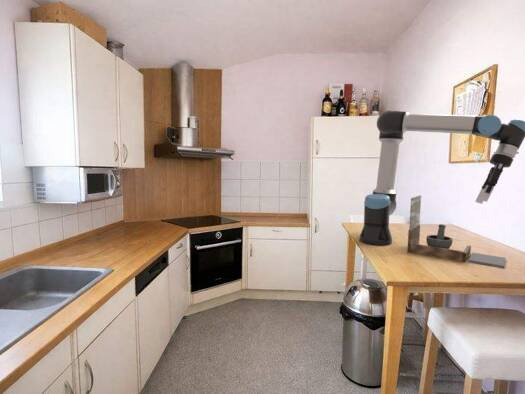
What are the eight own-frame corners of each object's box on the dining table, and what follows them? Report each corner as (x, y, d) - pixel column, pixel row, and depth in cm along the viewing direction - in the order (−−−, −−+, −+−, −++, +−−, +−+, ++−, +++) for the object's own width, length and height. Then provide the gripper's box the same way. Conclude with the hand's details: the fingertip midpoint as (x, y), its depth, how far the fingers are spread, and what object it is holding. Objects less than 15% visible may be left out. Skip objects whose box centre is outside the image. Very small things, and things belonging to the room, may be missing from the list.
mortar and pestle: (449, 257, 122) (451, 229, 121) (424, 253, 128) (425, 226, 127) (453, 251, 131) (455, 225, 130) (429, 247, 137) (430, 222, 136)
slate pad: (468, 261, 117) (468, 259, 117) (472, 254, 127) (472, 252, 127) (504, 268, 110) (504, 266, 110) (505, 259, 120) (505, 257, 120)
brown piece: (407, 251, 131) (410, 198, 128) (416, 244, 142) (419, 195, 139) (465, 262, 117) (470, 202, 114) (470, 253, 128) (474, 198, 125)
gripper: (521, 152, 114) (496, 203, 117) (507, 164, 136) (485, 206, 138) (498, 146, 118) (474, 195, 120) (488, 159, 139) (467, 200, 142)
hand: (480, 201), depth 129 cm, fingers open, 13 cm apart
